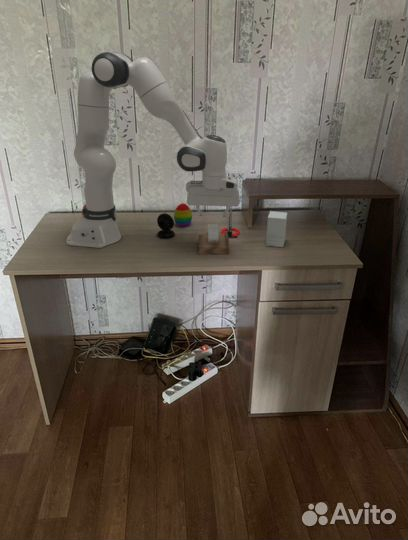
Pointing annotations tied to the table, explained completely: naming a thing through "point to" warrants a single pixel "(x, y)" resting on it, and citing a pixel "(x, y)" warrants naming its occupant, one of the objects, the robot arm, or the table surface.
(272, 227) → the supplement box
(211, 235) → the aluminium block
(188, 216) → the decorative egg
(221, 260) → the table surface
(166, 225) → the webcam
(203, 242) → the wooden tray
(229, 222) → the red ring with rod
